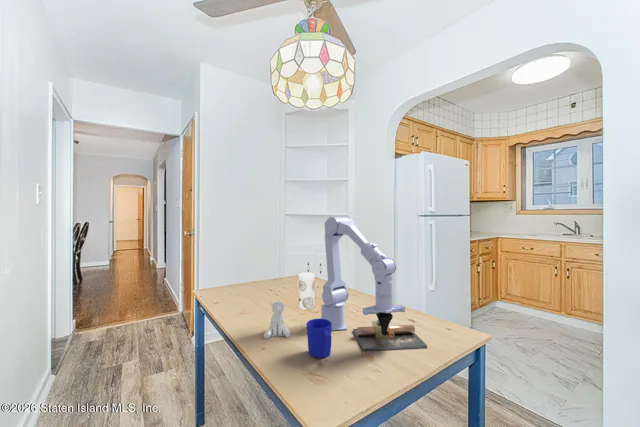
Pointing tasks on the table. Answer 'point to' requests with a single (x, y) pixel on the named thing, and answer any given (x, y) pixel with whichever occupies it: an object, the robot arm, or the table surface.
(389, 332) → the valve lever
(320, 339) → the mug
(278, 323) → the sitting furry creature
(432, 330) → the table surface
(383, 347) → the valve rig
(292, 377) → the table surface
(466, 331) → the table surface
